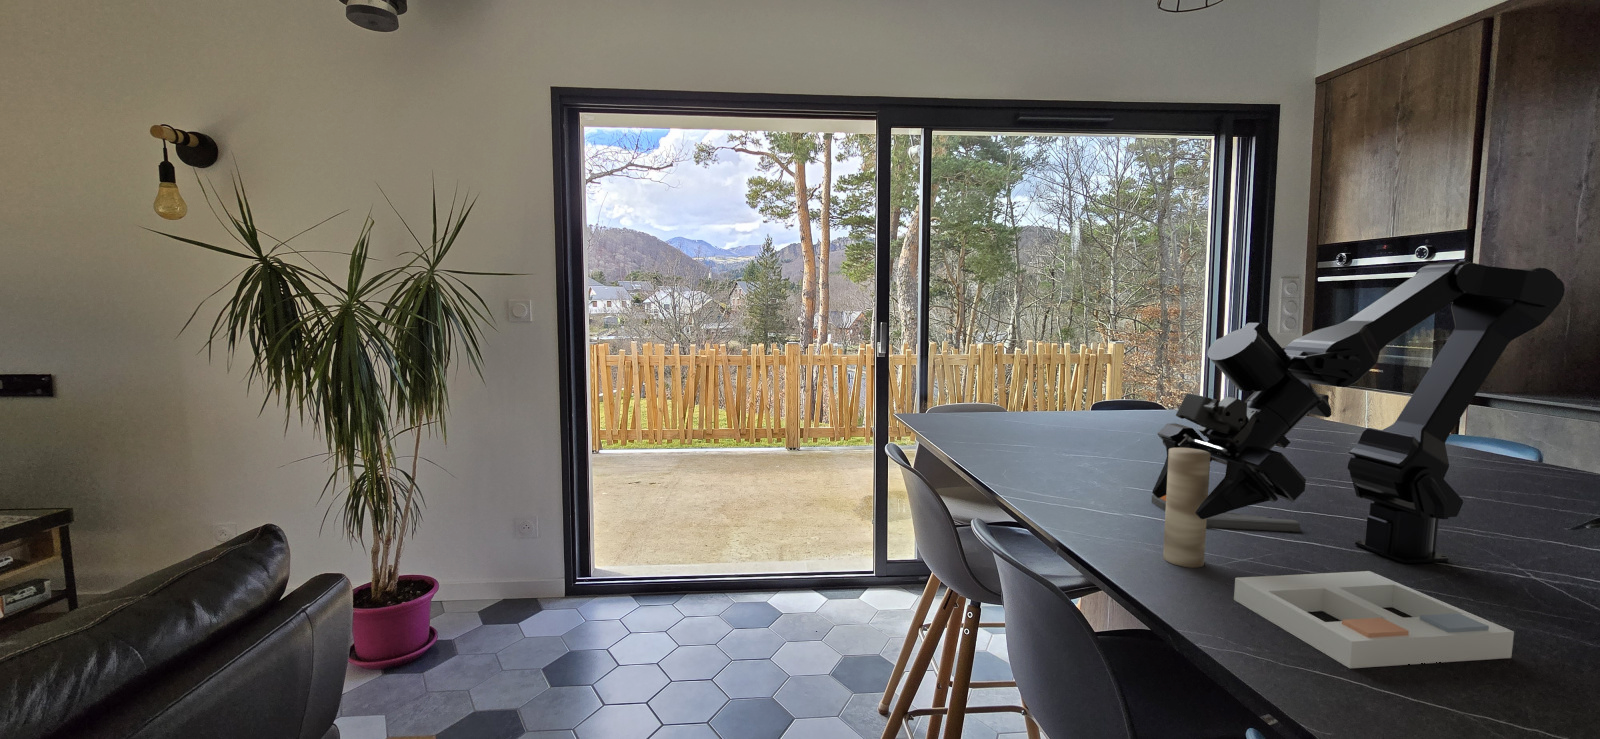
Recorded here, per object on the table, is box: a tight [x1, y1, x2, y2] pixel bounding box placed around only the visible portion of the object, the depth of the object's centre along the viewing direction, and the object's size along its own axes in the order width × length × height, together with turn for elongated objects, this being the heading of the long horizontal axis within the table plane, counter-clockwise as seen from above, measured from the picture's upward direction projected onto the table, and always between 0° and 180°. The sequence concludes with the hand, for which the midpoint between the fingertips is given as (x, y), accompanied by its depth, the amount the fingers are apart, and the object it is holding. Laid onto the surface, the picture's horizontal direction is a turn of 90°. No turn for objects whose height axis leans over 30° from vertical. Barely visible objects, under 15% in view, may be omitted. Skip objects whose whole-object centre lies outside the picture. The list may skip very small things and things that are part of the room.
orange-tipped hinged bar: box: [1151, 494, 1302, 533], centre depth 95 cm, size 2×16×12 cm
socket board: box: [1233, 570, 1515, 669], centre depth 62 cm, size 16×13×3 cm
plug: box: [1162, 448, 1211, 569], centre depth 77 cm, size 4×4×14 cm
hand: (1175, 505), depth 77 cm, fingers open, 8 cm apart
